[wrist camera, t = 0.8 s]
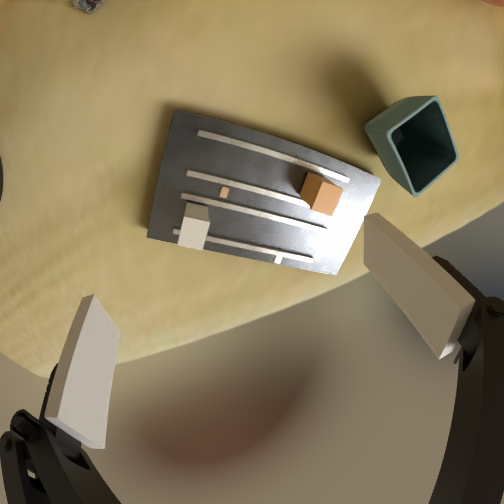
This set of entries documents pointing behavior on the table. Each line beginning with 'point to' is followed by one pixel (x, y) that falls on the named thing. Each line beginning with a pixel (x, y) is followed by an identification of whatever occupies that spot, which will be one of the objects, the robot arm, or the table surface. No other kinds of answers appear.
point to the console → (256, 194)
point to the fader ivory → (194, 226)
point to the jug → (495, 2)
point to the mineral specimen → (87, 5)
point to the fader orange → (320, 194)
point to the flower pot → (413, 142)
